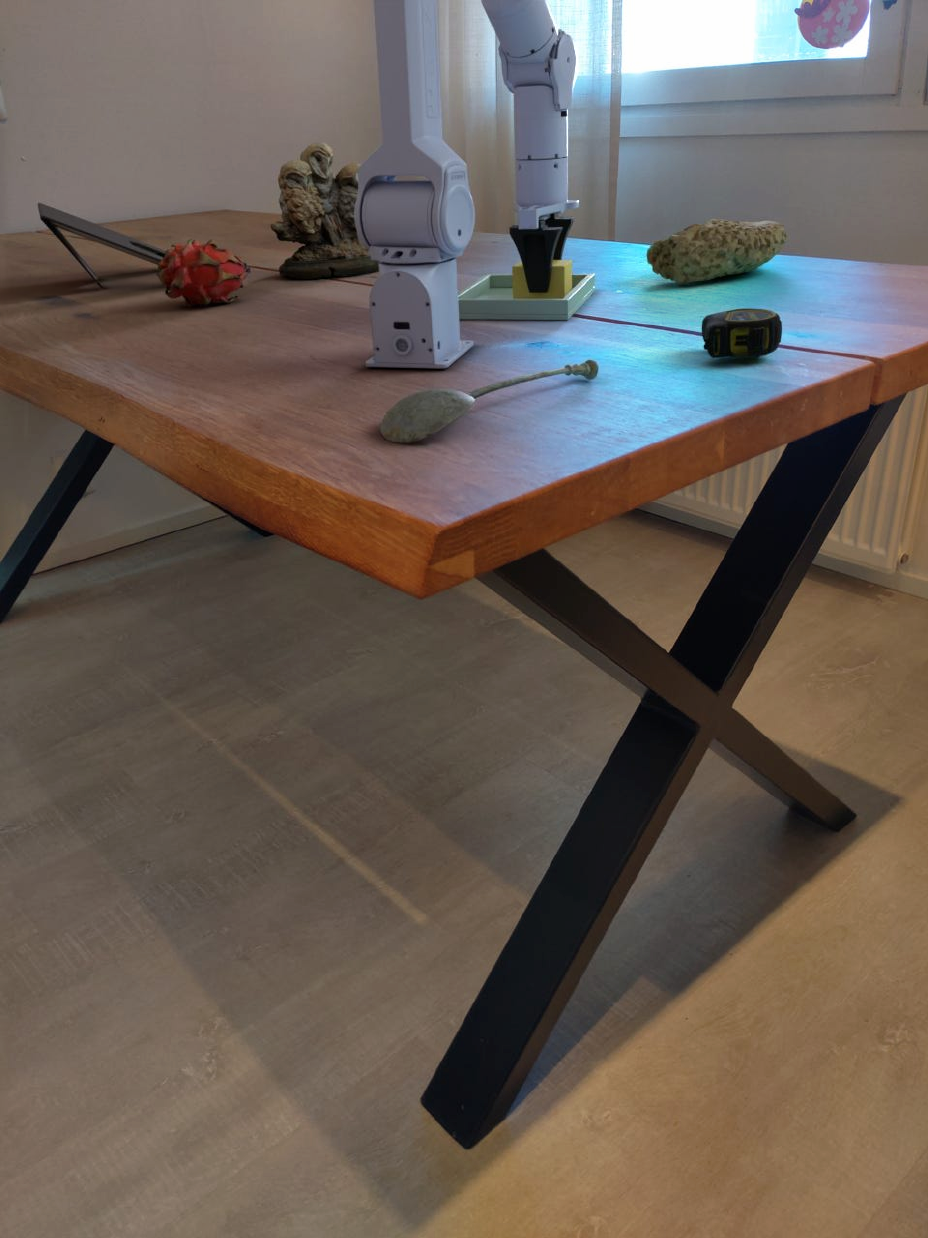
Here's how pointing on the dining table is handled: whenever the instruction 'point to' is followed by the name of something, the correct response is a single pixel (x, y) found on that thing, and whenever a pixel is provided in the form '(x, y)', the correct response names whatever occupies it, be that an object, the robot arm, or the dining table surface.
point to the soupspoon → (453, 405)
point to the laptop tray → (95, 237)
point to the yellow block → (558, 282)
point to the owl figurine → (320, 217)
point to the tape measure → (741, 333)
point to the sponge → (716, 249)
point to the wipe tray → (519, 300)
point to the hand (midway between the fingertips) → (543, 288)
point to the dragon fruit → (201, 273)
